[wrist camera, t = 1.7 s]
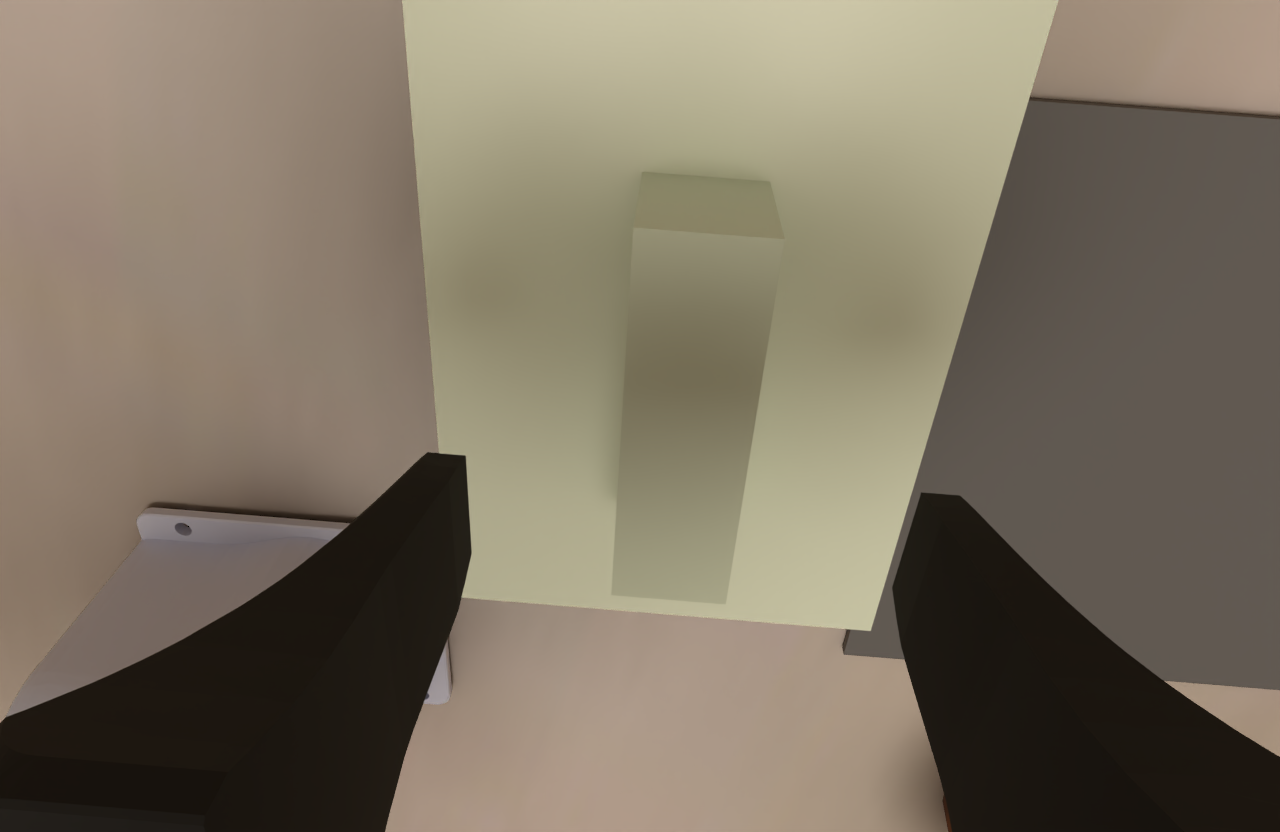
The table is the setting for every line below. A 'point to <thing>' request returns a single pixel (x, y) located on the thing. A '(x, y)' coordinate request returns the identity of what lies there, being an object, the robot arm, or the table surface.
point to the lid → (703, 282)
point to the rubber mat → (1127, 385)
